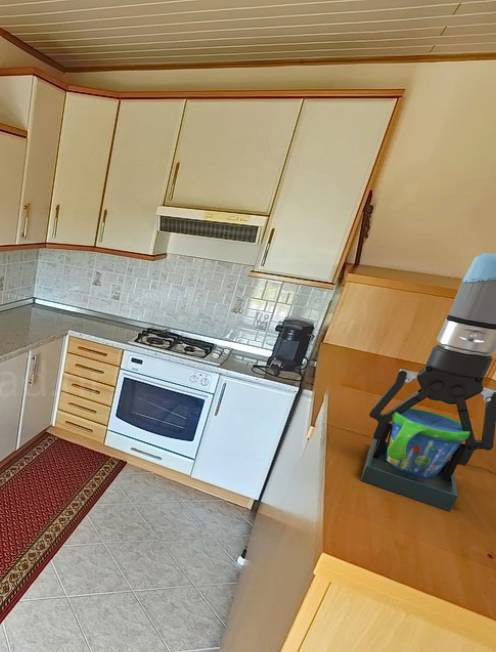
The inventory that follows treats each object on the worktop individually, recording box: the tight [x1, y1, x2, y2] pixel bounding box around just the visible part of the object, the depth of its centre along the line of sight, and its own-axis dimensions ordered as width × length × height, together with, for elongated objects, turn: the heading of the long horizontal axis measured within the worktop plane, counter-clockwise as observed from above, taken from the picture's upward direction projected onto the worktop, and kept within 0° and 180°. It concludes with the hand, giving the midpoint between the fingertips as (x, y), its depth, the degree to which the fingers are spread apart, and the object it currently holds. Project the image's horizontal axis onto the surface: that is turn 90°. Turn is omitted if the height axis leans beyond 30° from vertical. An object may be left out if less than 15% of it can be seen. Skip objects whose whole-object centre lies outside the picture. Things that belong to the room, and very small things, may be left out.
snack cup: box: [384, 407, 470, 479], centre depth 87 cm, size 16×10×10 cm
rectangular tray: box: [359, 438, 459, 513], centre depth 89 cm, size 12×18×3 cm
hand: (409, 466), depth 89 cm, fingers closed on snack cup, 9 cm apart
